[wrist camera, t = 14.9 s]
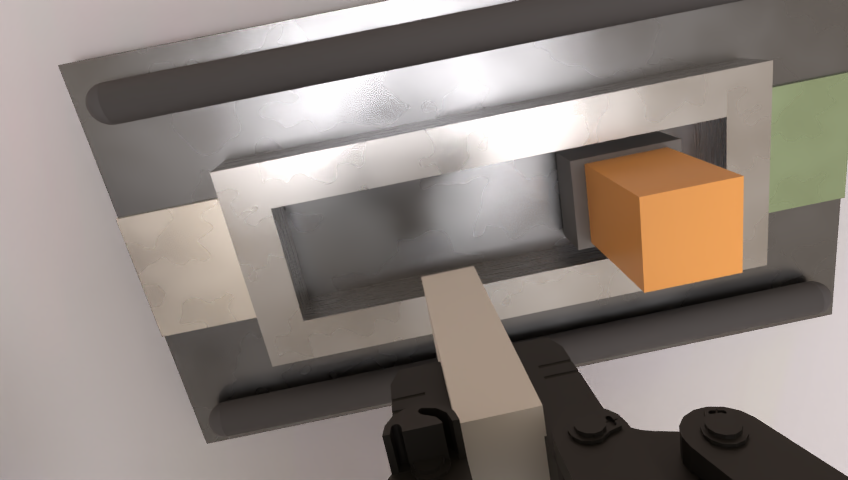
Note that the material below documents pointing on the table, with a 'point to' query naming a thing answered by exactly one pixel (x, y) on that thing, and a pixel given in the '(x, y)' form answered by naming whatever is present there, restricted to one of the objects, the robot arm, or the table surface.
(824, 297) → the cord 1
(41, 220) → the table surface
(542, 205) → the panel
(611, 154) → the toggle
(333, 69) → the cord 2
